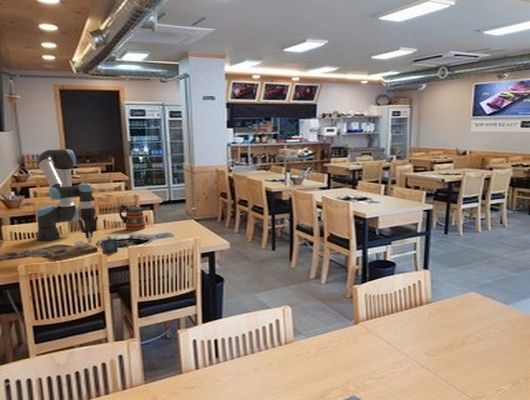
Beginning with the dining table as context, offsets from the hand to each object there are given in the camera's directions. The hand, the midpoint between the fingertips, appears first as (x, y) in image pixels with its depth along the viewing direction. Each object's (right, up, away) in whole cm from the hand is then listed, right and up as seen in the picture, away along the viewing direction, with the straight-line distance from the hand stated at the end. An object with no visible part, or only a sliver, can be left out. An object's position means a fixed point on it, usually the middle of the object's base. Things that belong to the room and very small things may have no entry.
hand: (89, 242), depth 269 cm
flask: (+16, -6, -7) cm, 19 cm away
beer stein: (+10, +5, +58) cm, 59 cm away
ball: (-5, 0, -5) cm, 7 cm away
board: (-8, -6, -8) cm, 13 cm away
